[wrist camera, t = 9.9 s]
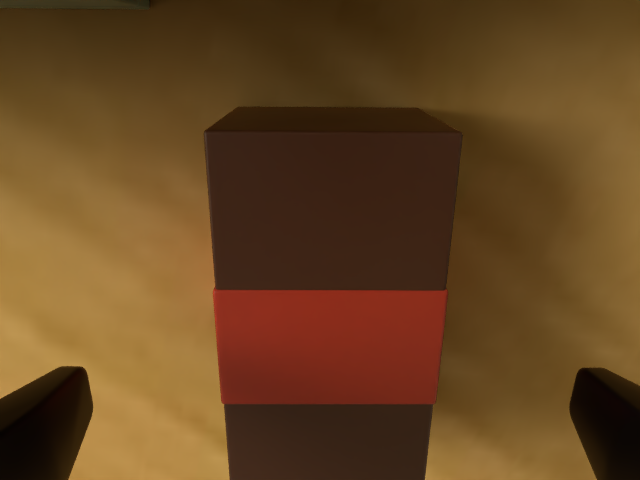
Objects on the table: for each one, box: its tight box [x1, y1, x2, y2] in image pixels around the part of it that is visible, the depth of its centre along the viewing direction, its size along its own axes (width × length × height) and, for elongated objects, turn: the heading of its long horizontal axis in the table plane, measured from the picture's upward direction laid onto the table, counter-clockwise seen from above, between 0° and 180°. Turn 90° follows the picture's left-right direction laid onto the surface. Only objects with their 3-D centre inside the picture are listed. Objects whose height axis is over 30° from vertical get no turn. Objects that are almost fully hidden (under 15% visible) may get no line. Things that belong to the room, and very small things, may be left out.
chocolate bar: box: [204, 107, 463, 480], centre depth 12 cm, size 5×9×4 cm, turn 0°
